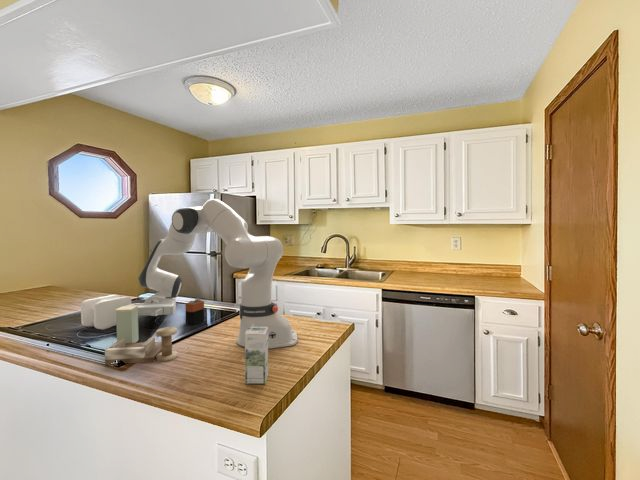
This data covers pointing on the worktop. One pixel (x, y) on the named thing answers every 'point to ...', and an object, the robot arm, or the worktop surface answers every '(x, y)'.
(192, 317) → the battery
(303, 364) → the worktop surface
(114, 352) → the winding board
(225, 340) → the worktop surface
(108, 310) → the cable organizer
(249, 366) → the syrup box
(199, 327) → the worktop surface
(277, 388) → the worktop surface
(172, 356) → the bobbin
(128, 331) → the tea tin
